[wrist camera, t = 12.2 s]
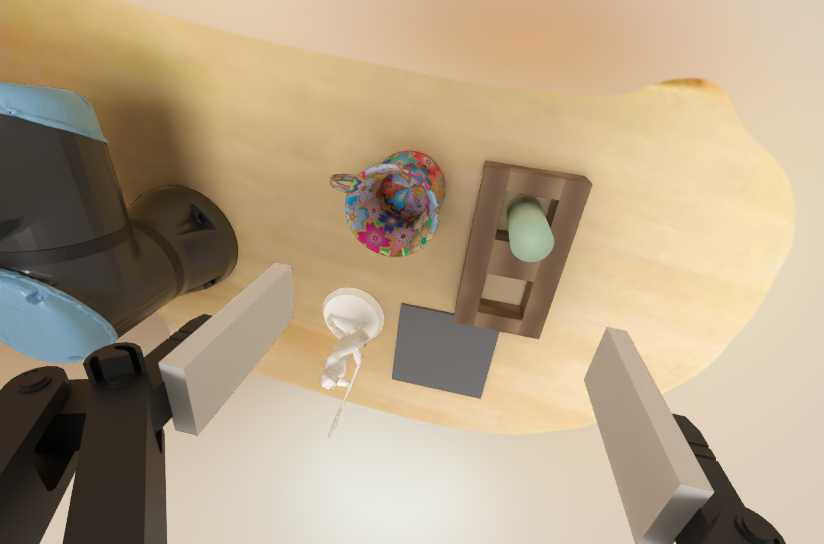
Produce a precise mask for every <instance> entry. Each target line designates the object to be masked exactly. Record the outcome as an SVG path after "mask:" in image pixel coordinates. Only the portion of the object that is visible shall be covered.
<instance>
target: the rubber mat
mask: <svg viewBox="0 0 824 544" xmlns="http://www.w3.org/2000/svg"><path fill="white" fill-rule="evenodd" d="M453 321H454V314H453V313H448V312H443V311H438V310H433V309H428V308H423V307H418V306H413V305H408V304H403V303H402V304H401V310H400V318H399V326H398V334H397V342H396V350H395V358H394V366H393V374H392V379H394V380H398V381H403V382H407V383H412V384H416V385H421V386H425V387H430V388H434V389H439V390H443V391H448V392H452V393H457V394H461V395H466V396H470V397H475V398H479V399H481V395H482V391H483V388H484V384H485V381H486V377H487V374H488V370H489V366H490V363H491V359H492V356H493V352H494V348H495V345H496V341H497V338H498V334H499V331H496V330H491V329H486V328H481V327H476V326H471V325H466V324H461V323H456V322H453Z"/></svg>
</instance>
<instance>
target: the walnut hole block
mask: <svg viewBox="0 0 824 544" xmlns="http://www.w3.org/2000/svg"><path fill="white" fill-rule="evenodd" d="M591 187H592V183H591V182H590V181H589V180H588V179H587V178H586V177H585V176H579V175H573V174H567V173H560V172H554V171H547V170H541V169H535V168H528V167H522V166H515V165H509V164H503V163H496V162H490V161H485V166H484V171H483V176H482V180H481V185H480V190H479V195H478V200H477V205H476V210H475V215H474V220H473V224H472V229H471V234H470V239H469V244H468V249H467V254H466V259H465V264H464V268H463V273H462V278H461V283H460V288H459V293H458V298H457V303H456V307H455V314H454V321H453V322H456V323H461V324H466V325H471V326H476V327H481V328H486V329H491V330H496V331H501V332H505V333H510V334H515V335H520V336H525V337H530V338H535V339H539V338H540V335H541V332H542V329H543V326H544V324H545V321H546V318H547V315H548V312H549V309H550V306H551V303H552V300H553V297H554V294H555V292H556V289H557V286H558V283H559V280H560V277H561V274H562V271H563V268H564V265H565V262H566V260H567V257H568V254H569V251H570V248H571V245H572V242H573V239H574V236H575V233H576V230H577V228H578V225H579V222H580V219H581V216H582V213H583V210H584V207H585V204H586V201H587V198H588V196H589V193H590V190H591ZM506 192H511V193H517V194H523V195H529V196H535V197H541V198H548V199H552V201H551V204H550V208H549V211H548V214H547V218H546V219H547V222H548V224H549V227H550V229H551V232H552V234H553V237H554V246H553V249H552V251H551V252H550V254H549V255H548V256H547V257H545V258H544V259H542V260H540V261H537V262H525V261H522V260H520V259H518V258H517V257H516V256H515V255H514V254H513V253H512V251H511V247H510V240H509V231H503V230H498V229H497V228H498V223H499V219H500V215H501V211H502V207H503V202H504V198H505V194H506ZM487 273H488V274H493V275H499V276H504V277H509V278H515V279H520V280H525V281H527V285H526V288H525V291H524V295H523V298H522V301H521V305H520V306H516V305H511V304H506V303H501V302H496V301H491V300H486V299H481V295H482V290H483V286H484V282H485V278H486V274H487Z"/></svg>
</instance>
